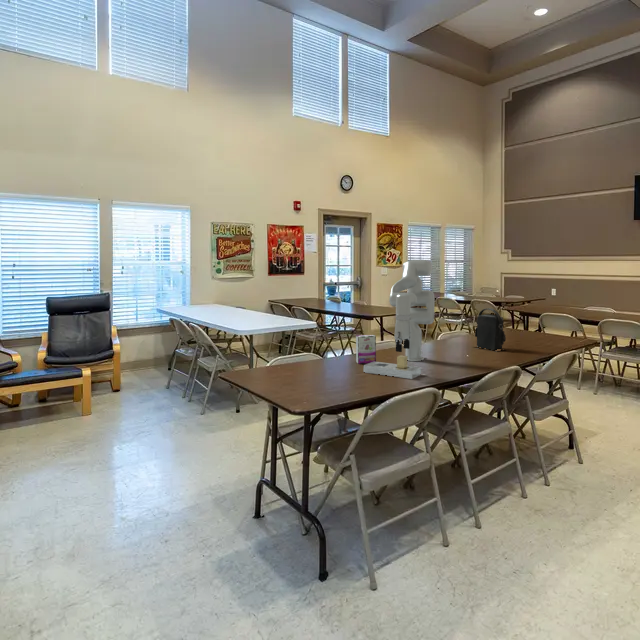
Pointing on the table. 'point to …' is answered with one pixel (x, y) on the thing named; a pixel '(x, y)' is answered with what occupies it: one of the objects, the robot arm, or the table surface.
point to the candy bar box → (365, 349)
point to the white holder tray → (392, 370)
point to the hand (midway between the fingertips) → (402, 350)
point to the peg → (402, 362)
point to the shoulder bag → (490, 331)
